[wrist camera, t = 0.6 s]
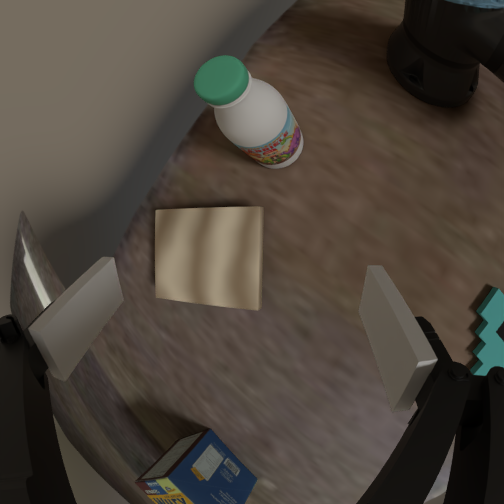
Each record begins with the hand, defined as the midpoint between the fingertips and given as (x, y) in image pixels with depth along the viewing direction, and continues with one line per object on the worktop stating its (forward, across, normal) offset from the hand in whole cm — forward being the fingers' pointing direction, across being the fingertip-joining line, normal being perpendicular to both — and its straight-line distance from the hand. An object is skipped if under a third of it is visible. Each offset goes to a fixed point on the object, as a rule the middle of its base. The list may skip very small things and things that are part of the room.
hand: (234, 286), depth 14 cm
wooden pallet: (+26, -6, -10) cm, 29 cm away
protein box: (+12, -7, -49) cm, 51 cm away
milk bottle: (+30, +2, +5) cm, 31 cm away
